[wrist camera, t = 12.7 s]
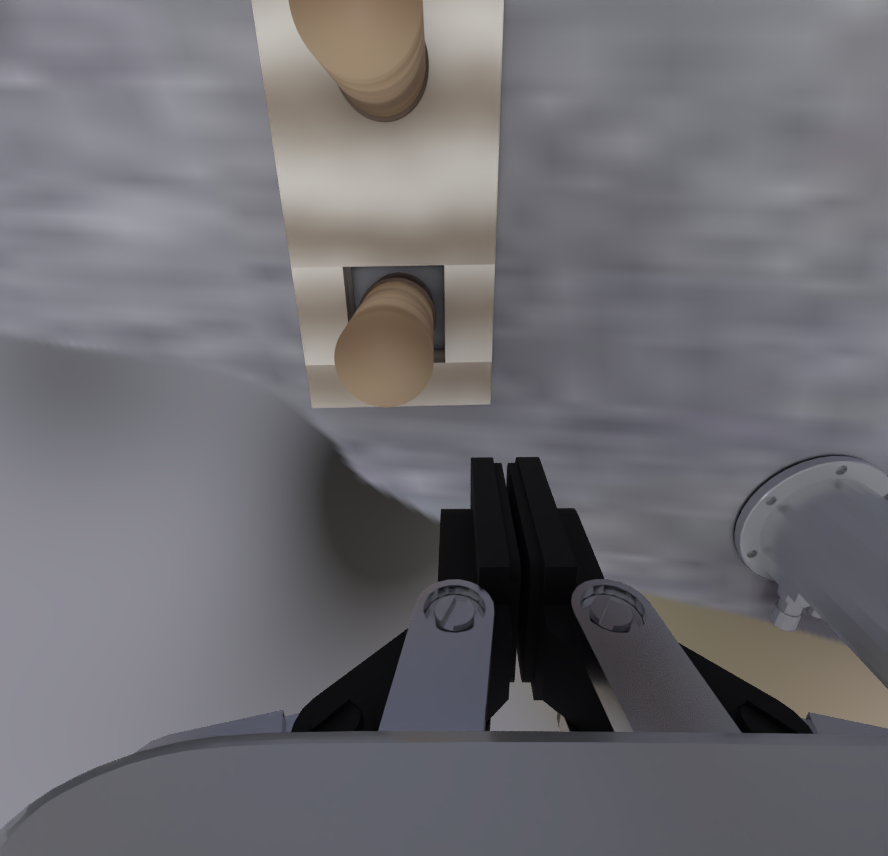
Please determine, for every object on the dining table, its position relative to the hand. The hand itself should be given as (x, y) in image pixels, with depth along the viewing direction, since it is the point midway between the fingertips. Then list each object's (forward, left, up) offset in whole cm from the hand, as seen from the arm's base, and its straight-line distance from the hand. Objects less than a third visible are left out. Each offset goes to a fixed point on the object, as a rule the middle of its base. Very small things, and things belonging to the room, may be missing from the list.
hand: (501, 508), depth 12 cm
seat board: (+6, +4, -22) cm, 24 cm away
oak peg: (+1, +4, -22) cm, 23 cm away
